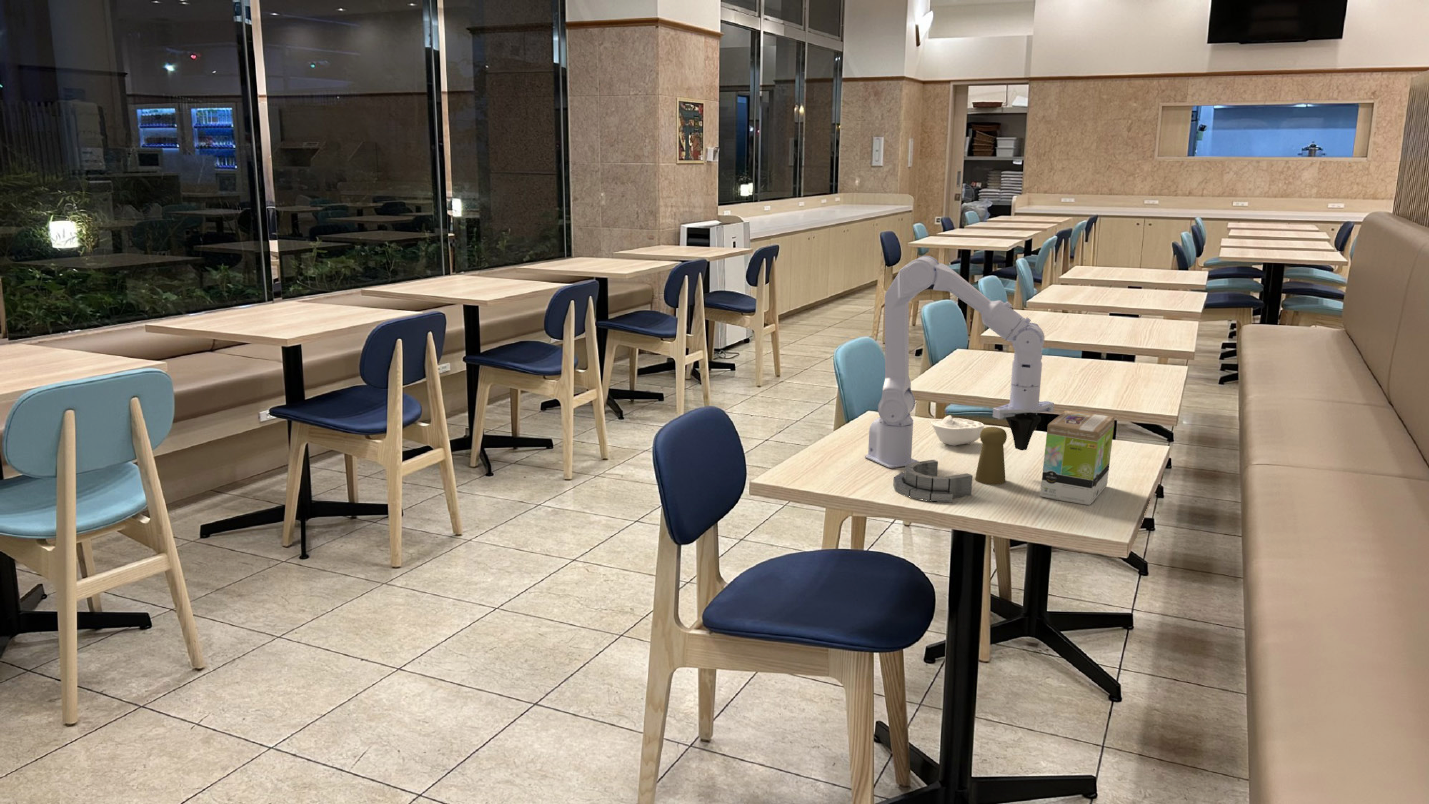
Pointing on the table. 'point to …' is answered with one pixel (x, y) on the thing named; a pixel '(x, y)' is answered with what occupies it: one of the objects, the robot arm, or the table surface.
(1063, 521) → the table surface
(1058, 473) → the tea box
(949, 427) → the cell model
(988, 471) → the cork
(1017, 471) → the table surface
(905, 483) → the hub collar
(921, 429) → the table surface
